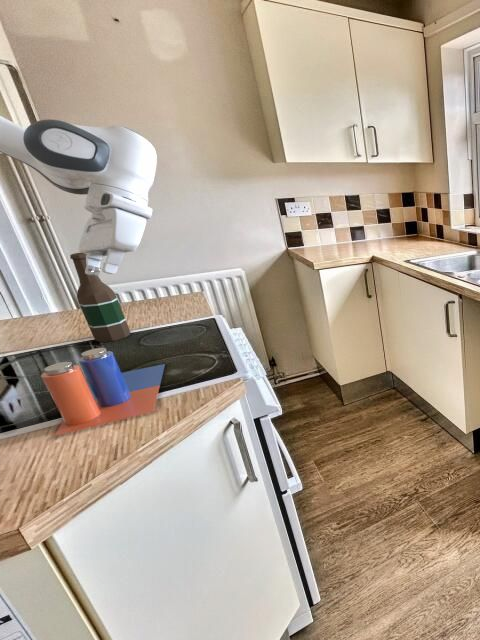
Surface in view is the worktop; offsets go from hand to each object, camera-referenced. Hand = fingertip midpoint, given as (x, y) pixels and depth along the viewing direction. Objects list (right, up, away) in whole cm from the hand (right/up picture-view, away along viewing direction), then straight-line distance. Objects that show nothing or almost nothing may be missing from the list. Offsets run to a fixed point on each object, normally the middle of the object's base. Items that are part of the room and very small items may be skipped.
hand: (99, 274), depth 83 cm
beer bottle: (-32, -13, +36) cm, 50 cm away
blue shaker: (+1, -25, +3) cm, 26 cm away
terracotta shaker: (0, -28, -3) cm, 28 cm away
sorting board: (-1, -25, +5) cm, 26 cm away
